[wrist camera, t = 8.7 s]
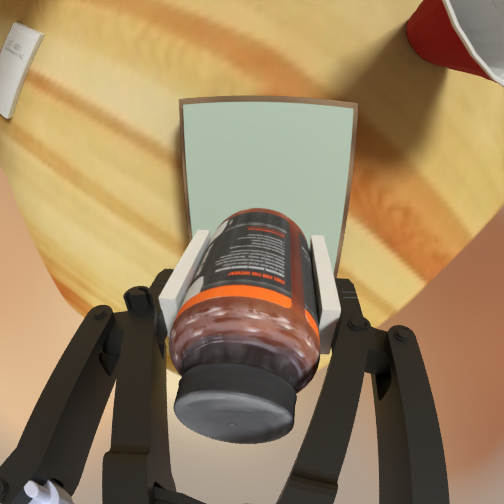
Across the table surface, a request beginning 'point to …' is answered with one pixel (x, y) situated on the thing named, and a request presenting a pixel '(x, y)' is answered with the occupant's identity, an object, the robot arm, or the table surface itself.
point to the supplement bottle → (247, 331)
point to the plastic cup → (461, 35)
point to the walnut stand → (269, 161)
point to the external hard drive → (16, 64)
